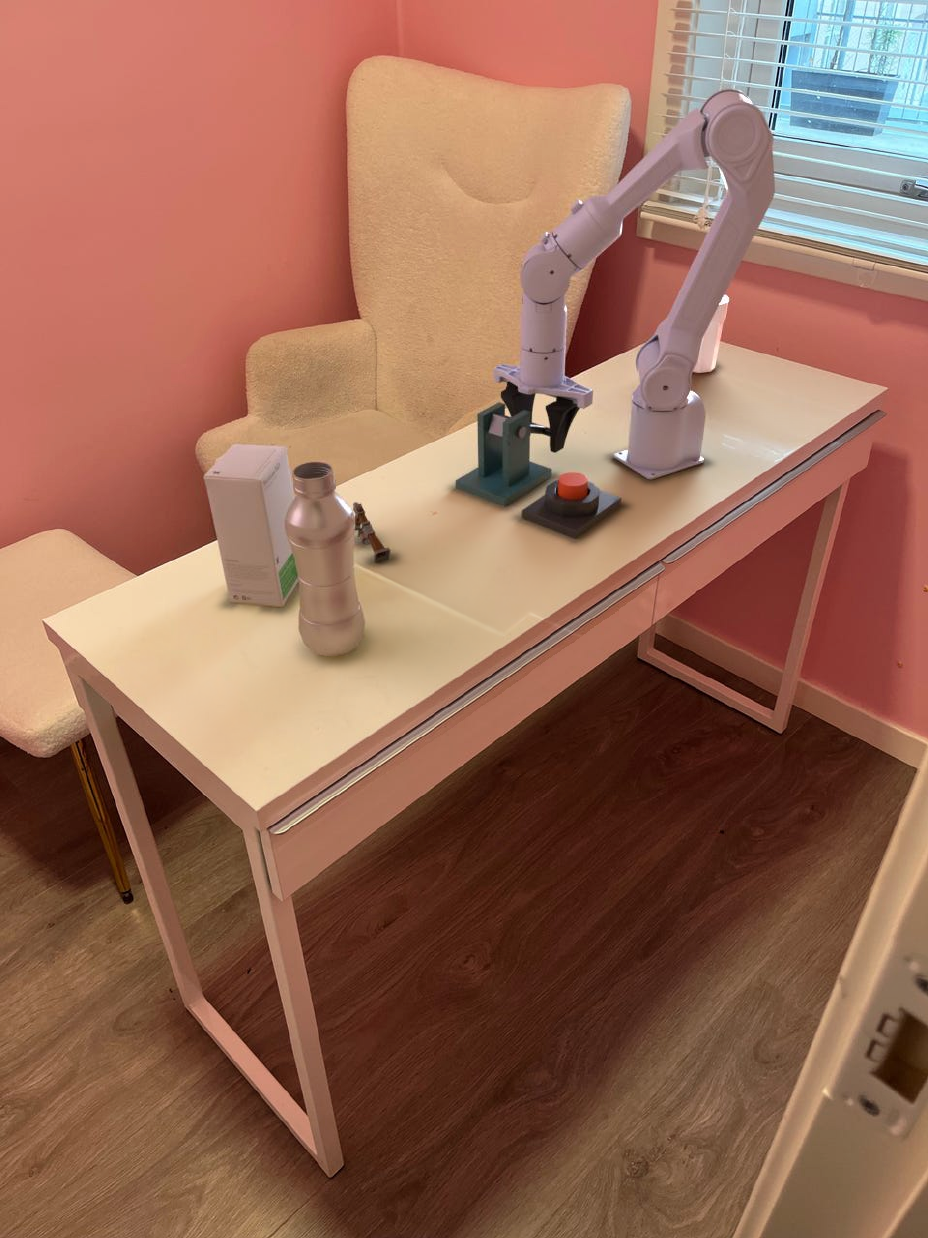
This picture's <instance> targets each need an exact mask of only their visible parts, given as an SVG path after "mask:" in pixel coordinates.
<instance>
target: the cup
mask: <svg viewBox="0 0 928 1238" xmlns="http://www.w3.org/2000/svg"><path fill="white" fill-rule="evenodd" d="M729 302H730V298H729V297H728V295H726V294H724V296H723V298H722V300H721V302H720V304H719V306H718V308H717V310H716V312H715V314H714V316H713V318H712V320H711V322H710V324H709V326H708V328H707V330H706V332H705V334H704V336H703V338H702V341H701V346H700V351H699V356H698V360H697V363H696V365H695V367H694V370H693V372H692V373H696V374H701V373H702V374H703V373H711V372H712V371H713V370H714V369H716V366H717V360H718V355H719V354H718V353H719V349H720V343H721V337H722V333H723V329H724V323H725V320H726V317H727V312H728V307H729Z"/></svg>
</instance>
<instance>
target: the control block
mask: <svg viewBox="0 0 928 1238" xmlns="http://www.w3.org/2000/svg"><path fill="white" fill-rule="evenodd" d="M621 506H622V497H620V496H618V495H615V494H612V493H610V492H606V491H603V490H601V489H600V488H599V487H598V486H597V485H596V484H595V483H594V482H592V481H589V480H588V491H587V496H586V497H585V498H581V499H577V500H574V499H565V498H562V497H559V495H558V479H556V480H554V481H553V482H551V483H550V484H548V485H547V486H546V488H545V493H544V495H542V496H541V497H539V498H538V499H536V500H535V501H534V502H532V503H530V504H529V505H527V506H526V507H525V508H523V509H522V510H521V519H523V520H525V521H527V522H530V523H533V524H535V525H538V526H540V527H543V528H545V529H548V530H551V531H554V532H556V533H559V534H561V535H563V536H566V537H569V538H571V539H575V540H577V538H579V537H580V536H582V535H583V534H584V533H586V532H587V531H589V530H590V529H591V528H593V527H594V526H596V524H598V523H600V522H601V521H602V520H604V519H606V518H607V517H608V516H609V515H610V514H612V513H613V512H614V511H616V510H617V509H618V508H620V507H621Z"/></svg>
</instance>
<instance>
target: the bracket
mask: <svg viewBox="0 0 928 1238" xmlns="http://www.w3.org/2000/svg"><path fill="white" fill-rule="evenodd" d="M493 414H498V415H506V405H505V403H504V402H499V401H498V402H496V403H495V404H493V405H491V406H489V407H488V408H486V409H484V410H482V411H480V412H478V413H477V416H476V418H477V422H476V424H477V425H476V426H477V467H476V468H474V469H472V470H471V471H469V472H467V473H466V474H463V475H462V476H461V477H459V478H457V479H456V480H455V489H457V490H460V491H462V492H465V493H467V494H470V495H473V496H475V497H477V498H480V499H483V500H485V501H488V502H490V503H493V504H496V505H498V506H502V507H507V506H508V505H510V504H511V503H513V502H514V501H516V500H517V499H519V498H521V497H522V496H524V495H525V494H526V493H529V492H530V491H531V490H533V489H535V488H536V487H537V486H539V485H540V484H542V483H543V482H545V481H547V480H548V479H550V478H551V477H552V468H549V467H547V466H545V465H541V464H538V463H535V462H532V461H530V459H531V458H530V457H531V456H530V455H531V453H530V452H531V450H530V449H531V435H530V412H528V411H525V410H524V411H522V412H520V413H518V414H516V415H515V416H513V417H511V416H510V417H511V418H509V419H507V420H506V421H504V422H503V437H500V436H497V435H494V434H491V433H489V429H490V425H491V421H492V417H493Z"/></svg>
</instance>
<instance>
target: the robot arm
mask: <svg viewBox="0 0 928 1238" xmlns="http://www.w3.org/2000/svg"><path fill="white" fill-rule="evenodd" d="M774 137H775V136H774V135H773V133H772V131H771V128H770V126H769V124H768V122H767V120H766V118H765V116H764V113H763V112H762V111H761V109H759V107H758V106H756V105H755V104H754V103H753V102H752V100H751V98H750V97H749V96H748V95H747V94H746V93H745V92H743V91H741V90H739V89H736V88H723V89H720V90H718V91H716V92H714V93H712V94H711V95H709V97H708V98H706V100H705V101H704V102H703V104H702V105H701V107H700V109H699V108H698V107H696V108H694V109H693V110H692V111H690V112H689V113H687V114H686V115H685V116H684V117H683V118H682V119H681V120H680V121H679V122H678V123H677V124H676V125H674V126H673V128H672V129H671V130H669V132H668V133H667V134H666V135H665V136H663V137H662V139H661V140H660V141H659V142H658V143H657V144H656V145H655V146H654V147H653V148H652V149H651V150H650V151H649V152H647V154H646V155H645V156H643V158H642V159H641V160H639V162H638V163H637V164H636V165H635V166H634V167H633V168H632V169H631V170H630V171H629V172H628V173H627V174H626V175H625V176H624V177H623V178H622V179H621V180H620V181H619V182H618V183H617V184H616V185H615V186H614V187H613V188H612V189H611V190H610V191H609V192H608V193H607V194H605V195H591V196H588V197H587V198H586V199H585V200H583V202H582V201H581V200H580V199H576V201H574V202H573V203H572V204H571V205H570V212H571V213H570V214H569V215H568V216H567V217H565V218H564V220H563V221H561V222H560V223H559V224H558V225H557V226H556V227H555V228H553V230H552V231H551V232H550V233H549V232H548V231H545V232H544V233H543V234H542V235H541V236H540V239H539V240H540V242H541V243H539V242H538V243H535V244H533V245H532V246H530V247H529V248H528V250H527V251H526V252H525V253H524V256H523V258H522V263H521V264H520V269H521V270H520V284H521V285H520V286H521V288H522V293H521V304H522V306H521V308H520V330H519V331H520V332H519V333H520V334H519V337H520V339H519V365H511V364H506V363H501V364H498V365H497V366H494V367H493V369H492V380H493V381H492V382H493V383H497V384H501V383H506V386H505V389H503V390H501V391H500V399H501V400H502V402H503V404H505V407H506V408H507V410H508V413H509V415H510V417H513V416H515V415H516V414H518V413H520V412H522V411H524V410H525V411H528V412H530V422H533V410H534V409H533V408H534V402H535V399H536V395H537V394H539V395H545V396H548V397H551V398H555V400H554V401H552V402H551V403H548V404H547V405H545V411H546V415H547V420H548V424H549V428H550V437H549V448H550V452H551V453H553V454H555V453H558V452H559V451H561V450H562V449H564V447H565V443H566V440H567V437H568V433H569V431H570V428H571V426H572V424H573V421H574V420H575V418H576V416H577V414H578V412H579V411H580V409H583V410H584V409H586V408H588V407H590V406H591V405H593V399H594V389H592V388H589V387H587V386H584V385H582V384H580V383H578V382H577V381H576V380H573V379H572V378H570V377H568V376H566V375H565V374H566V373H565V372H566V370H565V369H566V350H567V349H566V347H567V344H566V343H567V325H568V324H567V322H568V321H567V320H568V309H567V306H566V294H567V292H568V291H569V287H570V284H571V280H572V277H573V276H575V275H577V274H580V273H581V272H582V271H583V270H584V269H586V268H587V267H588V266H589V265H590V264H591V263H592V262H593V261H595V260H596V259H597V258H598V257H599V256H601V254H603V252H604V251H606V250H607V249H608V248H609V247H610V246H611V245H612V244H613V243H615V242H616V241H617V240H618V239H619V238H620V237H621V235H622V232H623V231H622V230H623V221H624V219H625V218H626V217H628V215H630V214H631V213H632V212H633V211H635V210H636V209H637V208H638V207H639V206H640V205H641V204H643V203H644V202H645V201H646V200H648V199H649V198H650V197H651V196H652V195H653V194H654V193H656V192H657V191H658V190H660V188H662V187H663V186H664V185H665V184H666V183H668V182H669V181H670V180H671V179H672V178H673V177H675V176H676V175H677V174H679V173H680V172H685V171H697V170H698V171H699V170H706V169H709V164H708V162H707V160H706V158H708V157H711V159H712V160H713V161H714V163H715V164H716V166H717V167H718V169H719V172H720V175H721V177H722V180H723V183H724V186H725V189H726V192H725V195H724V197H723V199H722V201H721V204H720V205H719V207H718V210H717V211H716V214H715V216H714V218H713V219H712V220H713V221H712V222H711V225H710V226H709V229H708V230H707V232H706V235H705V237H704V239H703V241H702V243H701V245H700V247H699V250H698V252H697V254H696V256H695V258H694V260H693V262H692V264H691V266H690V269H689V270H688V272H687V274H686V277H685V279H684V281H683V284H681V287H680V289H679V292H678V294H677V296H676V298H675V300H674V301H673V304H672V306H671V308H670V311H669V313H668V315H667V316H666V318H665V319H664V320H663V321H662V322H660V324H659V325H658V326H657V328H656V330H655V332H654V334H653V335H652V336H651V337H650V338H649V339H648V340H647V341H646V342H645V343H643V344H642V345H641V346H640V348H639V350H638V352H637V353H636V357H635V367H636V371H637V373H638V379H639V384H638V386H637V387H636V388H635V389H634V391H632V394H631V405H630V406H631V407H630V418H629V431H628V443H627V449H624V450H621V451H618V452H615V453H613V455H612V456H613V458H614V459H615V460H617V461H619V463H622V464H623V465H625V466H626V467H628V468H629V469H632V470H633V471H634V472H636V473H637V474H639V475H641V476H642V477H643V478H645V479H647V480H654V479H657V478H661V477H664V476H666V475H670V474H672V473H675V472H679V471H682V470H684V469H688V468H691V467H694V466H698V465H701V464H703V463H704V462H705V458H704V457H703V456H702V455H701V454H702V448H703V447H702V446H703V440H704V431H705V423H706V409H705V405H704V402H703V401H702V399H701V397H700V396H699V395H698V394H697V393H695V392H694V391H693V390H692V376H693V373H694V372H693V370H694V367H695V365H696V363H697V360H698V356H699V351H700V346H701V341H702V338H703V336H704V334H705V332H706V330H707V328H708V326H709V324H710V322H711V320H712V318H713V316H714V314H715V312H716V310H717V308H718V306H719V304H720V302H721V300H722V298H723V296H724V295H726V293H727V290H728V289H729V286H730V284H731V283H732V280H733V279H734V277H735V274H736V273H737V271H738V269H739V267H740V265H741V263H742V261H743V259H744V257H745V255H746V253H747V251H748V249H749V247H750V245H751V243H752V241H753V240H754V237H755V235H756V233H757V231H758V229H759V228H760V225H761V223H762V221H763V220H764V217H765V216H766V213H767V212H768V209H769V207H770V205H771V203H772V201H773V199H774V197H775V193H776V181H775V166H774V165H775V163H774V141H775V138H774ZM531 434H532V433H530V436H531Z"/></svg>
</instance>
